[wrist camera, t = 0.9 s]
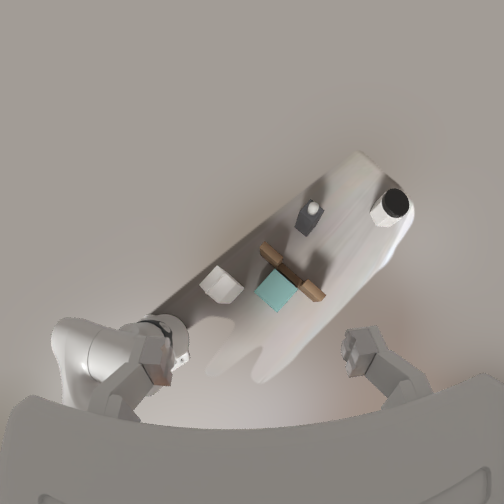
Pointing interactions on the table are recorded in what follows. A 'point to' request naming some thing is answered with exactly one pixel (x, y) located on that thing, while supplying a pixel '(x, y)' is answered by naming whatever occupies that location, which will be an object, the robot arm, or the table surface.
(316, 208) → the grey capped bottle
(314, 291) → the brown notched panel
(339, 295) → the table surface
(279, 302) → the teal block
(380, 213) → the jar
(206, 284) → the milk
